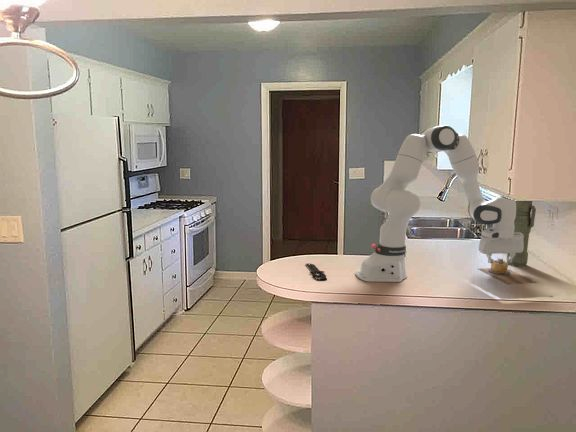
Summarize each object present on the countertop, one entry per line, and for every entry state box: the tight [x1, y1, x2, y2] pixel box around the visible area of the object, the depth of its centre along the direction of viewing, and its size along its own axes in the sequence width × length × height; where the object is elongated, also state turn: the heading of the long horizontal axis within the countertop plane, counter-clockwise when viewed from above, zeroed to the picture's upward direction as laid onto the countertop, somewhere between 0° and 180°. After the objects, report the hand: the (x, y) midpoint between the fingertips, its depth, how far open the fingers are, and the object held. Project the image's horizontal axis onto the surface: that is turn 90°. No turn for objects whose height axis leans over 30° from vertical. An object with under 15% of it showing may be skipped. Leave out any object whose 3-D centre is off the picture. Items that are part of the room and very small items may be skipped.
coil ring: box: [490, 259, 509, 273], centre depth 216 cm, size 7×7×4 cm
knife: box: [305, 262, 328, 282], centre depth 219 cm, size 26×7×2 cm, turn 6°
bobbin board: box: [477, 258, 538, 285], centre depth 211 cm, size 14×22×8 cm, turn 11°
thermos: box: [506, 200, 537, 267], centre depth 228 cm, size 9×12×35 cm
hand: (499, 262), depth 216 cm, fingers open, 8 cm apart
